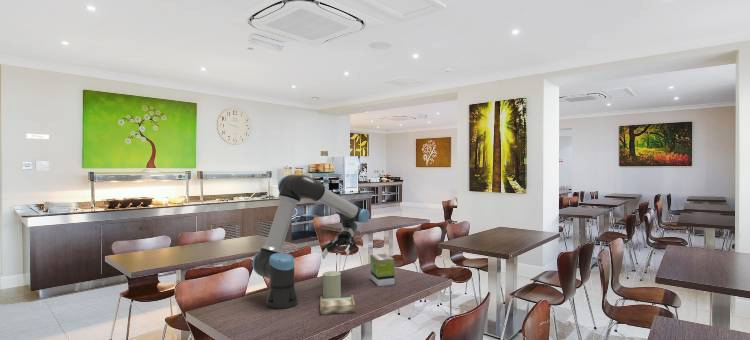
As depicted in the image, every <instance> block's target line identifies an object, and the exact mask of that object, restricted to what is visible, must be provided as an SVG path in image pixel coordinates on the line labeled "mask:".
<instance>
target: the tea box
mask: <svg viewBox="0 0 750 340" xmlns="http://www.w3.org/2000/svg"><path fill="white" fill-rule="evenodd" d="M369 257H370V258H369V260H370V263H369V265H370V279H371V280H372V281H373V282H374V284H376V285H377V286H378V287H381V286H382V287H383V286H393V285H395V279H396V278H395V258H394V257H392V256H391V255H389V254H387V253H375V254H370V256H369Z"/></svg>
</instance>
